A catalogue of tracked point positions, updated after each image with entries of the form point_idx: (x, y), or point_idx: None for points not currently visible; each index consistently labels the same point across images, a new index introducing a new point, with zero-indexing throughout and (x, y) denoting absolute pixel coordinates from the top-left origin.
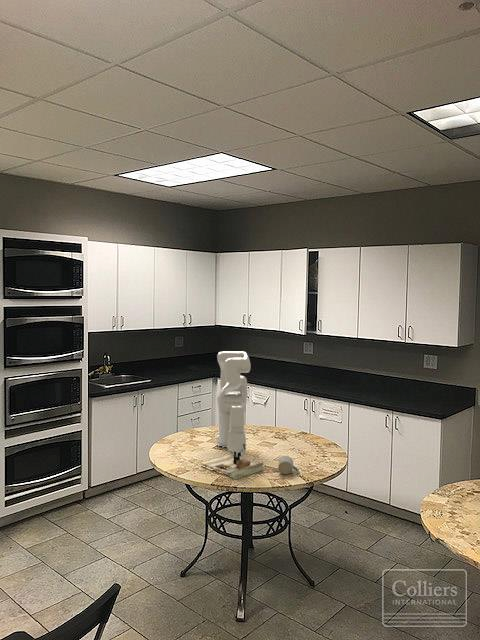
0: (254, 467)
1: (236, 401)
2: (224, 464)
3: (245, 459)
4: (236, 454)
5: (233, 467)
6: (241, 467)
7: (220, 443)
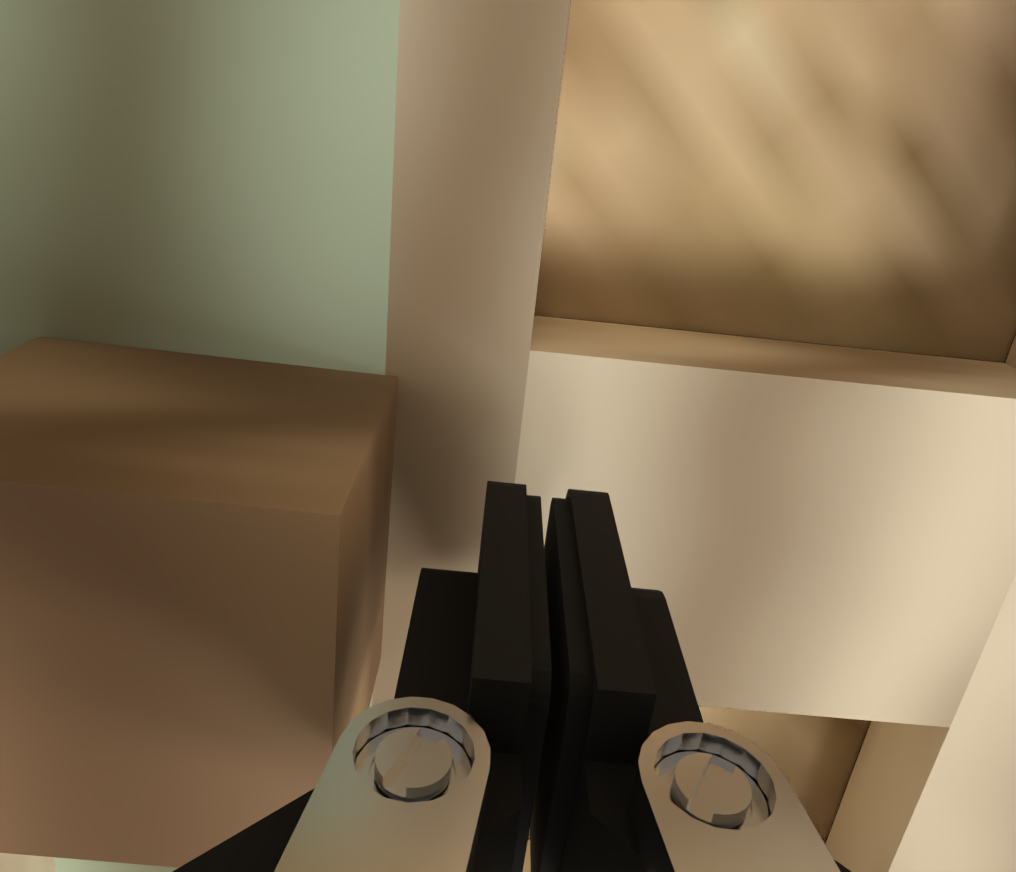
0: None
1: None
2: (988, 404)
3: (156, 839)
4: (406, 856)
5: (529, 367)
6: (92, 378)
7: None
